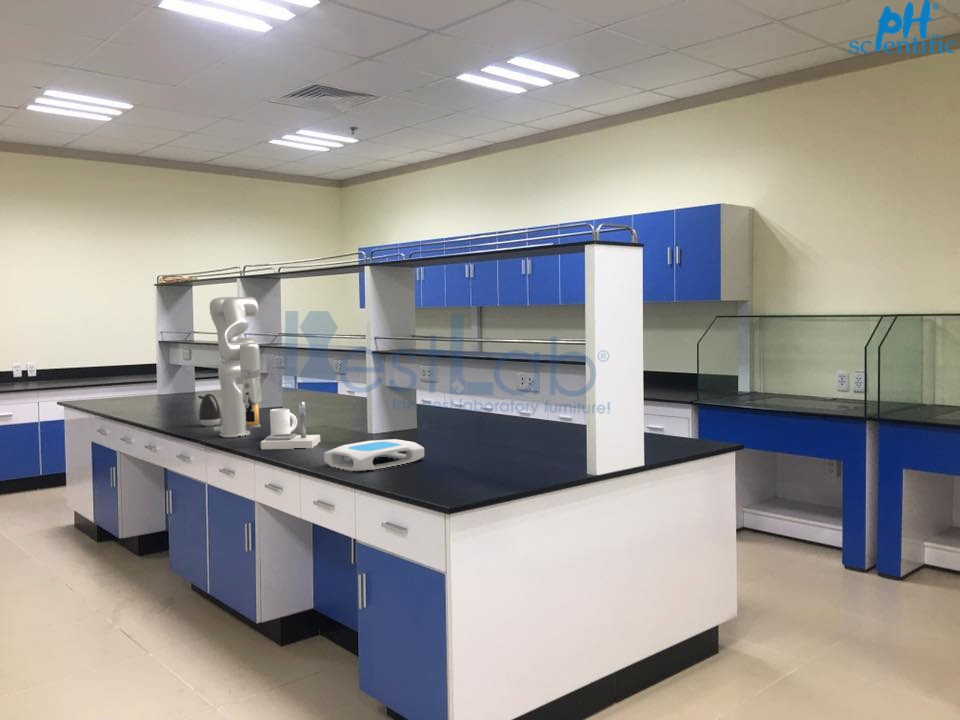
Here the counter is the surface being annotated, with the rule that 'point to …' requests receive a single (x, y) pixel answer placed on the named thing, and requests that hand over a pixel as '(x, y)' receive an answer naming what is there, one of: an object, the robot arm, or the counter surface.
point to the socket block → (289, 441)
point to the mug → (282, 421)
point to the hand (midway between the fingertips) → (252, 420)
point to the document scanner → (373, 454)
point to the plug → (256, 414)
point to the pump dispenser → (209, 410)
